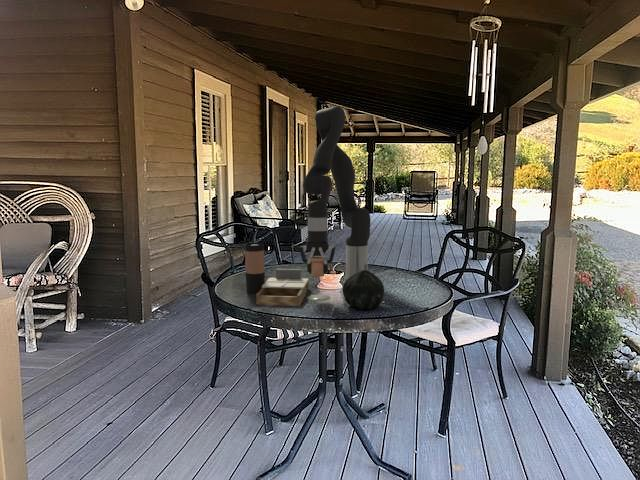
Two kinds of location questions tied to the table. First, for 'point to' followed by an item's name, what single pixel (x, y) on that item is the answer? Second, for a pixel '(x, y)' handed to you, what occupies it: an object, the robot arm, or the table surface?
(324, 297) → the saucer
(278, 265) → the table surface
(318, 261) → the pot
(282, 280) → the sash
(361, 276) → the squash
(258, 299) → the box
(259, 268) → the travel mug
